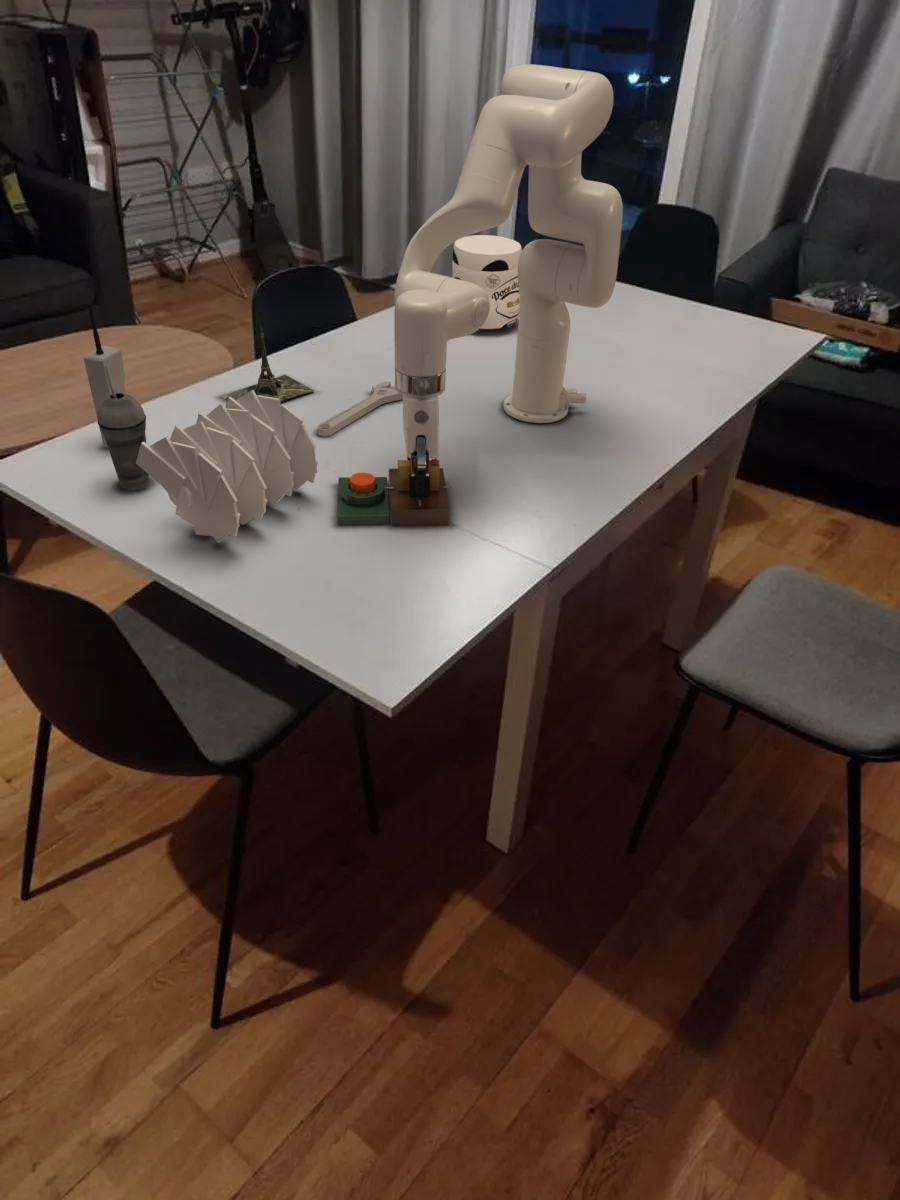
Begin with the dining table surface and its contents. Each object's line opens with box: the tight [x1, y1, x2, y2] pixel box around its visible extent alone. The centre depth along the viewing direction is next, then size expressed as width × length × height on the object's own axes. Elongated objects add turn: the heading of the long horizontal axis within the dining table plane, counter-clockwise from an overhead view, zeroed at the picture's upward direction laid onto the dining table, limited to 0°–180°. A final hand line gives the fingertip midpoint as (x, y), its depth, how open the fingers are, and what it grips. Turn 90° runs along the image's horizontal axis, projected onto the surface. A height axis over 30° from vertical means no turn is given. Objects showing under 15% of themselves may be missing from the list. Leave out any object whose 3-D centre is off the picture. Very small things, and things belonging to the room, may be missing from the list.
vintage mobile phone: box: [83, 302, 127, 449], centre depth 147 cm, size 4×5×25 cm
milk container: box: [451, 234, 523, 332], centre depth 202 cm, size 17×17×18 cm
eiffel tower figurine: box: [221, 326, 315, 402], centre depth 169 cm, size 15×10×13 cm
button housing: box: [336, 476, 390, 526], centre depth 141 cm, size 12×8×4 cm, turn 5°
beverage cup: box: [97, 365, 150, 492], centre depth 138 cm, size 7×7×20 cm
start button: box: [349, 472, 376, 494], centre depth 140 cm, size 4×4×2 cm
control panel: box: [385, 467, 453, 527], centre depth 142 cm, size 13×11×3 cm
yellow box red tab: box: [397, 458, 441, 491], centre depth 139 cm, size 6×2×5 cm, turn 95°
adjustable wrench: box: [316, 380, 403, 438], centre depth 168 cm, size 25×6×2 cm, turn 142°
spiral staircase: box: [136, 390, 319, 544], centre depth 134 cm, size 18×18×25 cm
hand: (418, 483), depth 140 cm, fingers open, 6 cm apart
